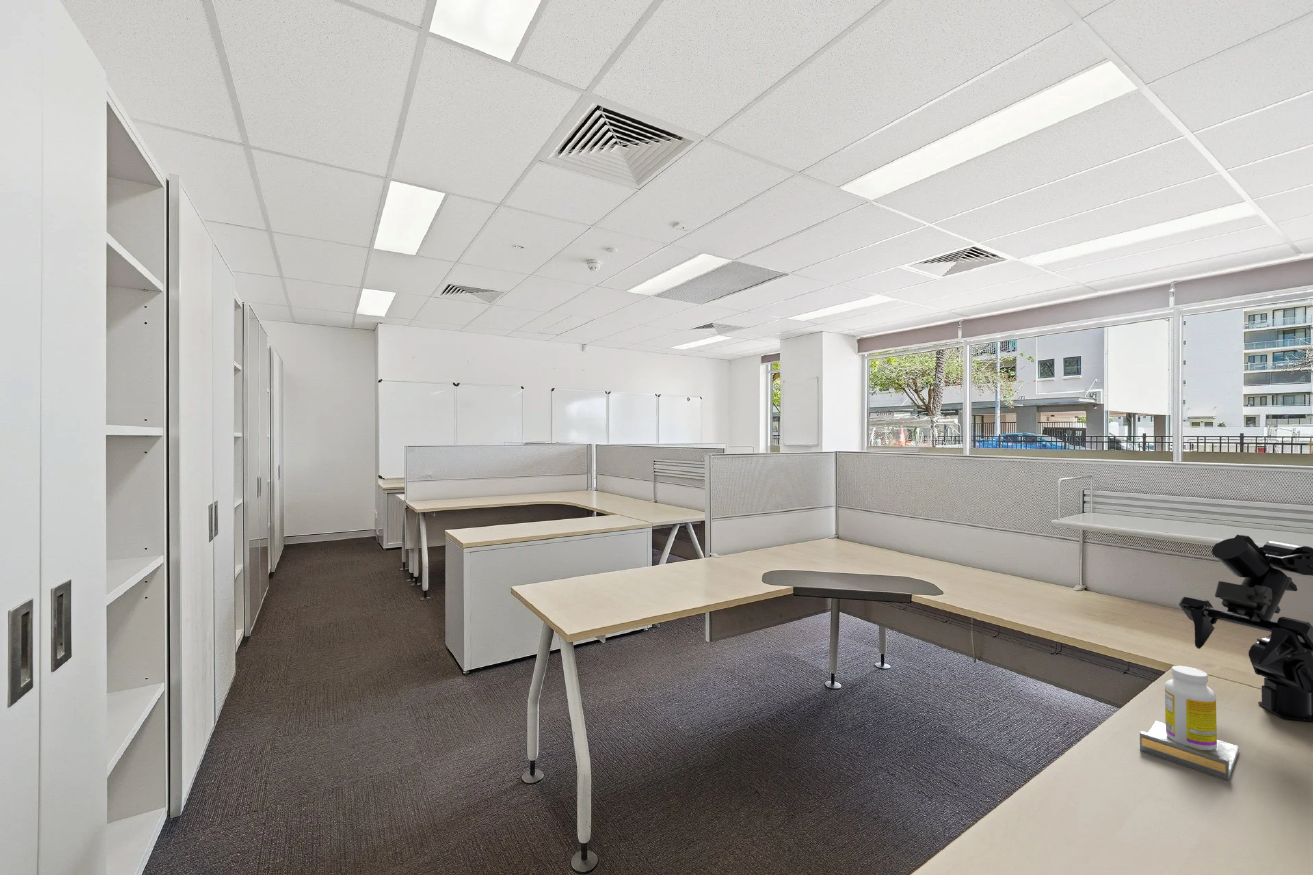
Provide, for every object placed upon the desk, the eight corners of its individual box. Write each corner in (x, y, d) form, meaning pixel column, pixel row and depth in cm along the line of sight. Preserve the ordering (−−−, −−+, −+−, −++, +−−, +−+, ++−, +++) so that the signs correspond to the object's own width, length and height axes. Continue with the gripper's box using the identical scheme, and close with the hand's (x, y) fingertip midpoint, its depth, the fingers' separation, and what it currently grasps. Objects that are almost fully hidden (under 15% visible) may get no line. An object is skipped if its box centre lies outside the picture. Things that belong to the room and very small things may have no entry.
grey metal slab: (1156, 726, 105) (1155, 709, 105) (1238, 751, 97) (1238, 733, 97) (1139, 751, 97) (1139, 733, 97) (1228, 781, 89) (1227, 761, 89)
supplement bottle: (1226, 748, 96) (1225, 675, 96) (1202, 755, 94) (1201, 681, 94) (1179, 728, 103) (1178, 661, 103) (1156, 735, 100) (1155, 666, 100)
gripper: (1183, 557, 116) (1150, 615, 112) (1312, 578, 98) (1277, 648, 95) (1206, 590, 118) (1175, 648, 115) (1336, 617, 101) (1303, 686, 97)
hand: (1227, 655), depth 105 cm, fingers open, 9 cm apart
